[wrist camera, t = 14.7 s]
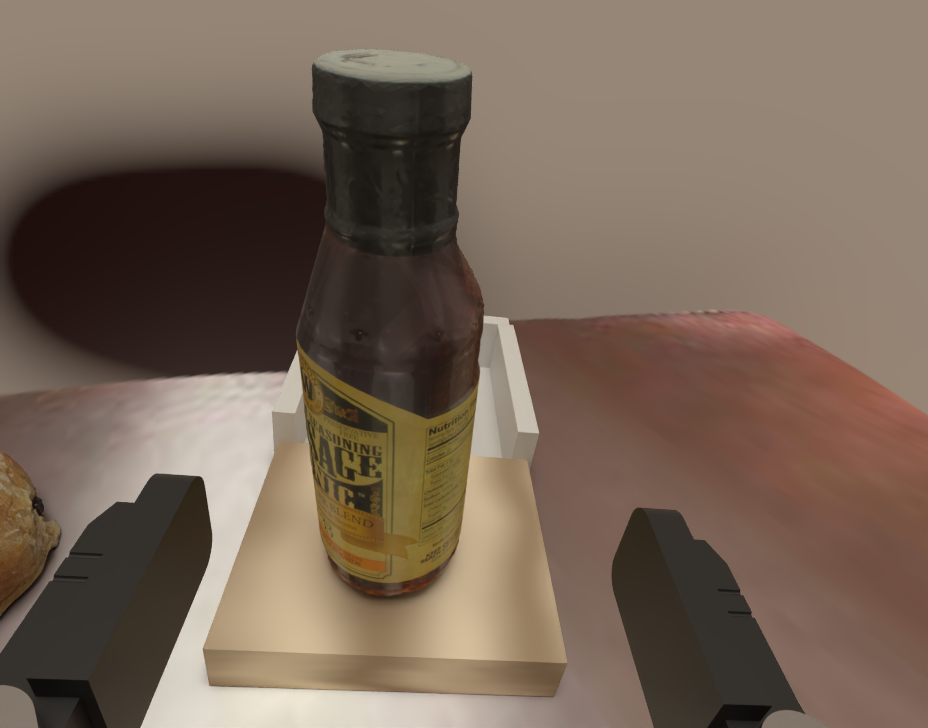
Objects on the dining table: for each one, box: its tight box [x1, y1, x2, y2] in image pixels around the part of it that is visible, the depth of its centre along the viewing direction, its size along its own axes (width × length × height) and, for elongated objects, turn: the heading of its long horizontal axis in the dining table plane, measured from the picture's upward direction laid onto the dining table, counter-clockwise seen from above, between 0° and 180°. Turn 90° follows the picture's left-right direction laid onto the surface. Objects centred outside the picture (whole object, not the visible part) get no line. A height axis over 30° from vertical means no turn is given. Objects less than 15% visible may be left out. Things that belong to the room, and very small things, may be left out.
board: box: [203, 441, 567, 697], centre depth 28 cm, size 14×12×2 cm
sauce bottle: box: [296, 49, 484, 597], centre depth 20 cm, size 6×6×20 cm
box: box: [272, 316, 539, 470], centre depth 38 cm, size 15×14×4 cm
